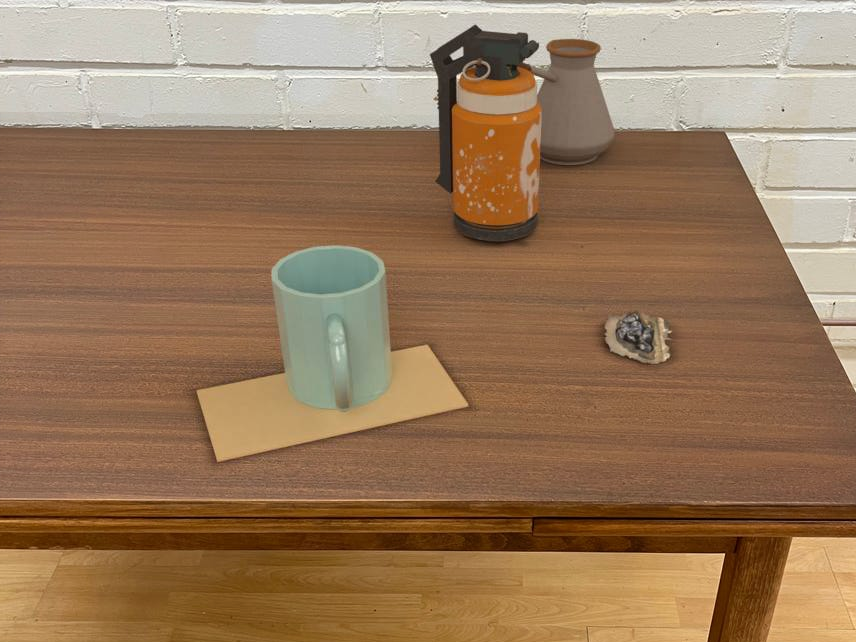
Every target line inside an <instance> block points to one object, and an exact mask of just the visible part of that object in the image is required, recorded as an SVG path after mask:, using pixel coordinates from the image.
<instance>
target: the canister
mask: <svg viewBox="0 0 856 642" xmlns="http://www.w3.org/2000/svg"><path fill="white" fill-rule="evenodd" d="M539 48H540V42H537V41H536V40H534V39H531V40H530V41H529V34H528V33H527V32H521V31H518V32H516V33H511V32H510V33H509V32H501V31H491V30H489V31H488V30H483V29H481V27H479V25H477V24H473V25H471V26H470V27H469V28H467V29H466V30H464V31H463V32H461V33H460V34H458V35H456V36H455V37H453V38H452V39H450V40H449V41H447V42H446V43H444V44H442V45H441V46H439V47H438V48H437V49H435V50H434V51H432V52H431V53H429V57H430V59H431V62H432V65H433V69H434V71H435V74H436V77H437V89H436V92H437V94H436V97H437V98H436V100H437V102H436V104H437V110H438V139H439V141H438V142H439V143H438V144H439V145H438V146H439V148H438V149H439V174H438V176H437V178H435V180H434V182H435V183H436V184H438V185H439V187H441V188H443V189H444V190H445V191H446V192H447V193H449V194H450V195H451V194H452V205H453V212H452V213H453V215H452V216H453V226H454V228H455V229H456V231H457V232H459V233H460V234H462V235H463V236H466V237H469V238H472V239H475V240H479V241H484V242H492V243H501V242H509V241H512V240H513V241H514V240H516V239H521V238H523V237H526V236H528V235H530V234H531V233H533V232H534V231H536V229H537V226H538V209H539V189H540V188H539V187H540V167H541V159H540V145H541V122H542V108H541V106H540V105H539V104H538V103H537V94H538V82H537V81H536V78H535V75H533V74H532V73H531V72H529V71H528V70H526V69H523V68H520V67H517V65H520V64H521V63H522V62H523V63H524V61H526V59H529V58H531V57H532V56H533V55H534V54H535V53H536V52H537V51H538V50H539ZM460 49H462V56H459V57H458V58H455V59H453V58H452V56H451V55H453V54H455V52H457V51H459V50H460ZM511 65H512V66H511ZM471 67H473V68H471ZM458 75H460V76H459V79H458V81H457V78H458Z"/></svg>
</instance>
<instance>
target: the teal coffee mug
mask: <svg viewBox="0 0 856 642" xmlns="http://www.w3.org/2000/svg"><path fill="white" fill-rule="evenodd" d="M270 273H271V275H270V276H271V277H270V279H271V284H272V285H271V286H272V293H273V299H274V306H275V314H276V319H277V328H278V333H279V340H280V347H281V355H282V360H283V368H284V373H285V375H286V382H287V386H288V389H289V392H290V393H291V394H292V396H293V397H294V398H295V399H297V400H298V401H300V402H302V403H304V404H306V405H309V406H312V407H316V408H321V409H338V410H339V411H340V412H347V411H349V410H350V409H351V408H353V407H357V406H361V405H364V404H367V403H369V402H371V401H373V400H375V399H377V398H378V397H380V396H381V395H382V394H384V393H385V391H386V390H387V389H388V387H389V386H390V383H391V379H392V365H391V352H392V351H391V349H392V348H391V336H390V319H389V303H388V289H387V287H388V286H387V271H386V267H385V263H384V260H383V259H381V258H380V257H379V256H378V255H376V254H375V253H374V252H372V251H369V250H366V249H363V248H359V247H356V246H347V245H340V244H339V245H338V244H336V245H335V244H333V245H319V246H311V247H309V248H304V249H300V250H297V251H294V252H293V251H292V253H289V254H288V255H286V256H284V257H282V258H280V259H279V260H278V261H277V262H276V263H275V264H274V266H273V267H272V268H271V270H270Z"/></svg>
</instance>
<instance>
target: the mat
mask: <svg viewBox="0 0 856 642" xmlns="http://www.w3.org/2000/svg"><path fill="white" fill-rule="evenodd" d="M391 365H392V379H391V383H390V386H389V387H388V389H387V390H386V391H385V393H384V394H382V395H381V396H380V397H378V398H377V399H375V400H373V401H371V402H369V403H367V404H364V405H361V406H357V407H353V408H351V409H350V410H349V411H347V412H340V411H339V410H338V409H321V408H316V407H312V406H309V405H306V404H304V403H302V402H300V401H298V400H297V399H295V398H294V397H293V396H292V394H291V393H290V392H289V389H288V386H287V382H286V375H285V372H281V373H277V374H272V375H267V376H262V377H261V376H260V377H256V378H251V379H247V380H242V381H237V382H232V383H227V384H221V385H216V386H210V387H208V388H207V387H205V388H201V389H196V394H197V395H196V396H197V399H198V401H199V405H200V408H201V412H202V415H203V418H204V422H205V426H206V429H207V432H208V435H209V439H210V442H211V445H212V449H213V451H214V455H215V459H216V461H217V463H220V462H224V461H225V462H226V461H228V460H233V459H238V458H239V459H240V458H243V457H247V456H252V455H256V454H261V453H265V452H269V451H274V450H275V451H276V450H279V449H284V448H287V447H292V446H297V445H301V444H307V443H310V442H315V441H319V440H324V439H328V438H334V437H338V436H341V435H346V434H350V433H351V434H352V433H357V432H361V431H364V430H370V429H373V428H378V427H383V426H387V425H393V424H396V423H401V422H405V421H410V420H415V419H419V418H423V417H428V416H432V415H437V414H442V413H446V412H450V411H456V410H460V409H465V408H468V407H469V403H468V401H467V400H466V399H465V397H464V396H463V394H462V393H461V392H460V390H459V388H458V387H457V386H456V384H455V382H454V381H453V379H452V378H451V376H450V375H449V374H448V372H447V371H446V369H445V368H444V366H443V365H442V363H441V362H440V361H439V359H438V358H437V356H436V355H435V353H434V352H433V351H432V349H431V347H430V346H429V344H424V345H423V344H422V345H418V346H414V347H408V348H402V349H398V350H394V351H393V350H392V351H391Z"/></svg>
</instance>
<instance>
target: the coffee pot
mask: <svg viewBox="0 0 856 642" xmlns="http://www.w3.org/2000/svg"><path fill="white" fill-rule="evenodd" d="M545 49H546V50H547V52H548V53H549V58H550V65H549V68H548V70H544V69H541V68H538V67H535V66H531V65H530V64H528V63H526V62H524V61H523V62H522V63H521V64H520V65H517V67H520V68H523V69H526V70H528V71H529V72H531V73H532V74H533V75H534V77H535V76H536V77H537V78H540V79H543V81H542V83H541V86H540V88H539V90H538V91H537V103H538V104H539V105H540V106H541V108H542V122H541V145H540V160H541V161H543V162H547V163H549V164H555V165H558V166H559V165H561V166H577V165H585V164H589V163H590V162H593V161H595V160H596V159H598V156H599V155H602V154H603V153H604V152H605V151H606V150H607V149H608V148H609V147H610V146H611V144H612V142H613V140H614V138H615V134H616V132H615V131H616V130H615V128H614V125H613V121H612V117H611V115H610V111H609V108H608V105H607V102H606V99H605V96H604V93H603V90H602V87H601V83H600V81H599V77H598V74H597V70H596V67H595V62H596V57H597V54H599V53H600V52H601V50H602V47H601V45H600V44H599V43H597V42H596V41H593V40H589V39H582V38H560V39H552V40H551V41H549V42H548V43H547V44H546V46H545ZM511 66H512V65H511ZM473 67H474V66H473ZM473 67H471V68H473Z"/></svg>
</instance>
